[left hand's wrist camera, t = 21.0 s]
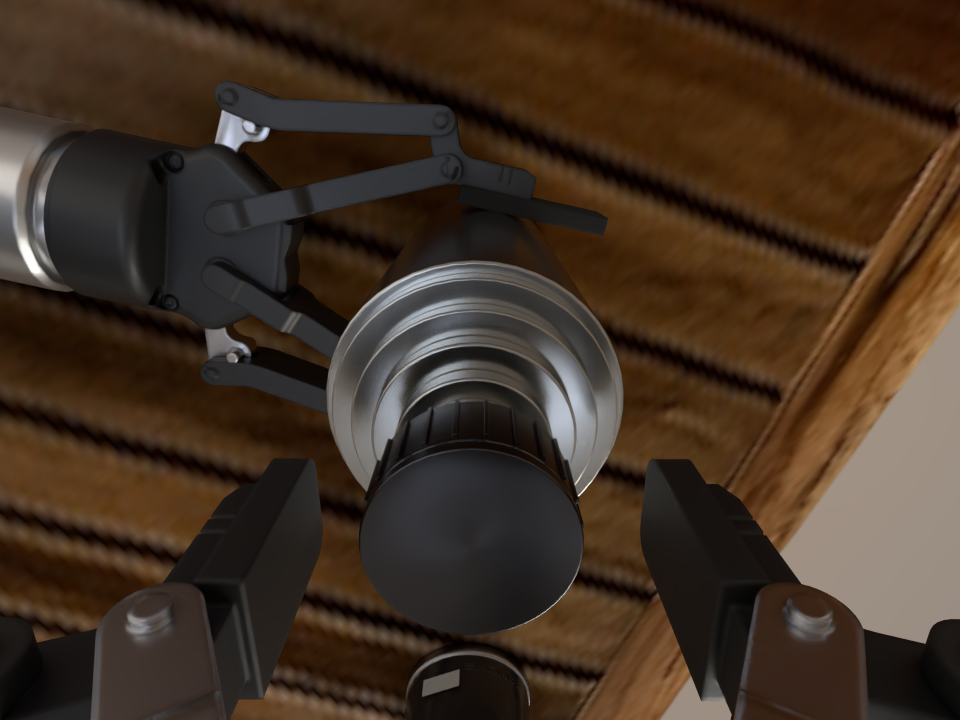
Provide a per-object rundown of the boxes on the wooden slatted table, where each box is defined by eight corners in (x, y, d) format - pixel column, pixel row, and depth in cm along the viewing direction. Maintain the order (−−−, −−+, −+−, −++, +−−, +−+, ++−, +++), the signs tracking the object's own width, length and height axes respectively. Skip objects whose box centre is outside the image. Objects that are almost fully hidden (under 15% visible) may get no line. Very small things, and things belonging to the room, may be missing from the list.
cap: (416, 366, 11) (403, 409, 9) (606, 441, 12) (629, 496, 10) (348, 529, 13) (324, 595, 11) (521, 590, 13) (528, 663, 11)
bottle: (465, 358, 36) (438, 742, 13) (380, 253, 34) (161, 493, 11) (575, 279, 34) (768, 561, 11) (492, 164, 32) (519, 218, 9)
